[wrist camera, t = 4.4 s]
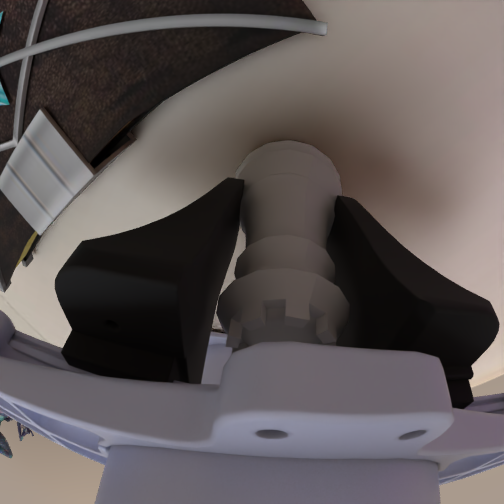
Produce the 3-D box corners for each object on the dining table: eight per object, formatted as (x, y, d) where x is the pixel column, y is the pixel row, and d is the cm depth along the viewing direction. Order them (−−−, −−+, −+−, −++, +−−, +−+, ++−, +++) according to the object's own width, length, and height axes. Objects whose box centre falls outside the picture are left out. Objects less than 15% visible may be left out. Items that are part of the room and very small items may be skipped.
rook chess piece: (259, 118, 11) (216, 242, 5) (359, 165, 12) (421, 320, 6) (220, 207, 14) (167, 364, 8) (309, 243, 15) (314, 404, 8)
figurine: (-6, 391, 56) (-20, 445, 43) (-36, 361, 44) (-55, 424, 31) (52, 414, 60) (41, 473, 47) (28, 388, 48) (11, 461, 35)
